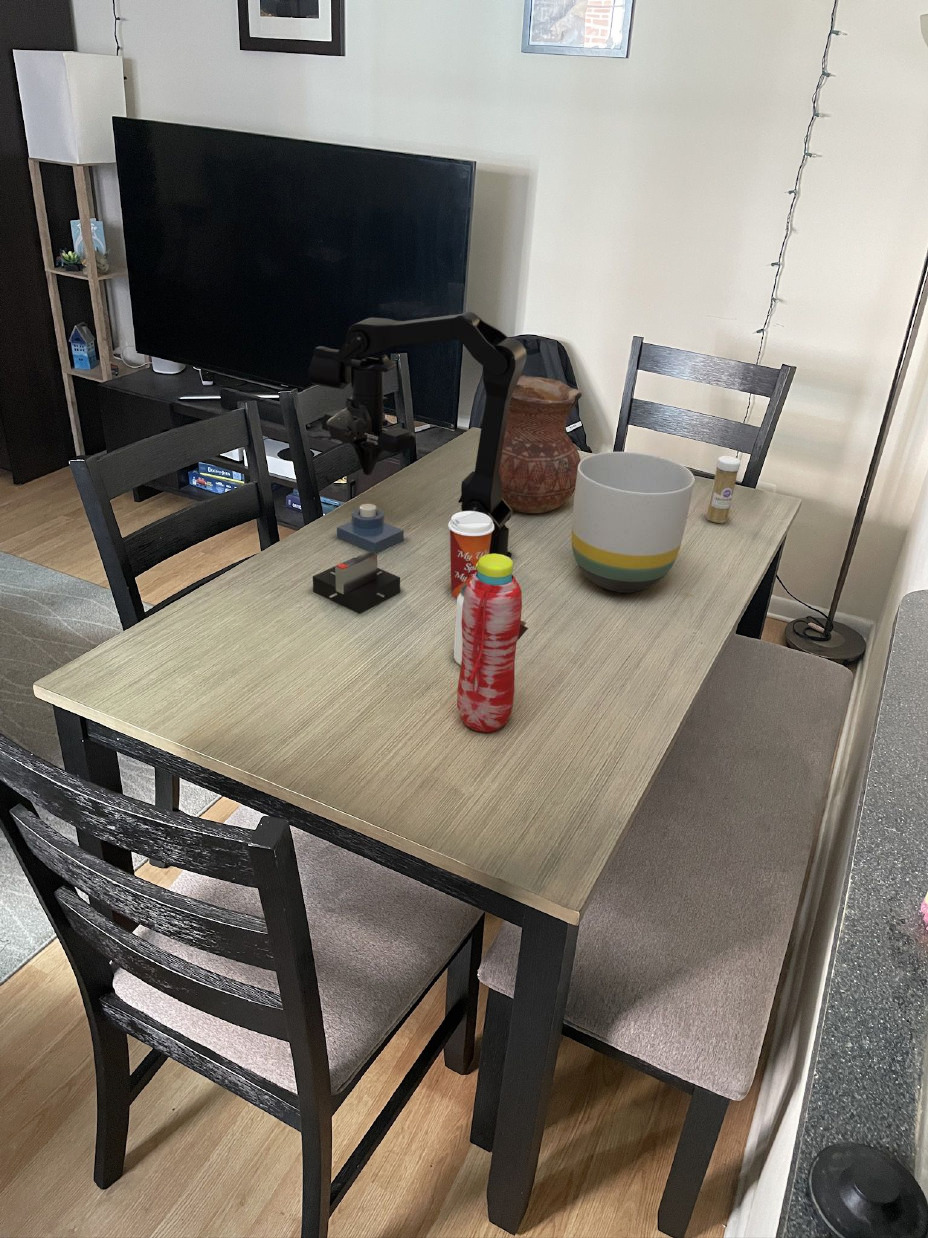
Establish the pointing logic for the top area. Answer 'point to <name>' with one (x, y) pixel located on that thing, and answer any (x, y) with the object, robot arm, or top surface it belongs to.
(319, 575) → the black dial base
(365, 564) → the grey block red tab
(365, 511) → the pump button
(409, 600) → the top surface
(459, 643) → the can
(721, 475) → the sprinkles bottle
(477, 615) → the water bottle
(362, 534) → the blue stepped block
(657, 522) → the planter
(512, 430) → the jug
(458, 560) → the paper cup
